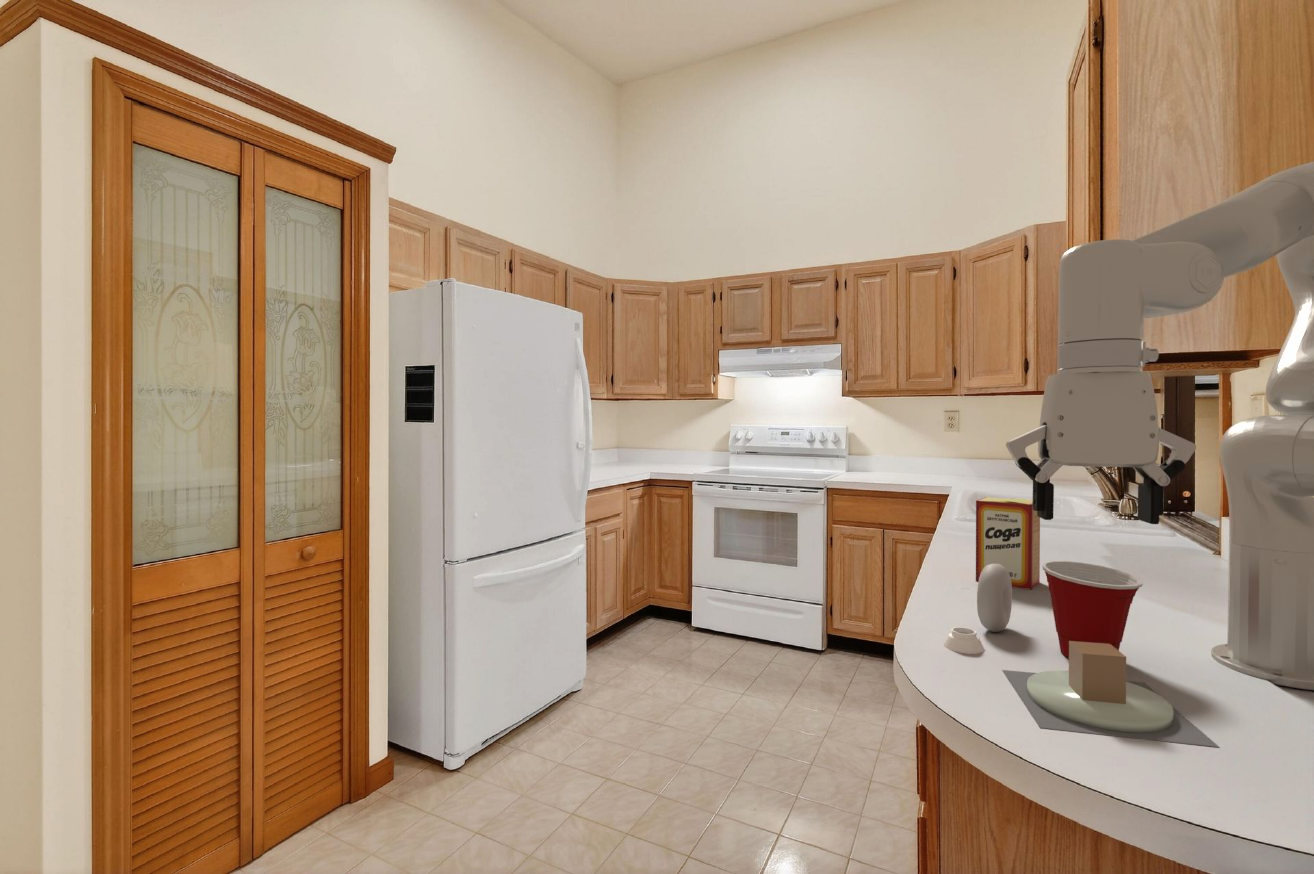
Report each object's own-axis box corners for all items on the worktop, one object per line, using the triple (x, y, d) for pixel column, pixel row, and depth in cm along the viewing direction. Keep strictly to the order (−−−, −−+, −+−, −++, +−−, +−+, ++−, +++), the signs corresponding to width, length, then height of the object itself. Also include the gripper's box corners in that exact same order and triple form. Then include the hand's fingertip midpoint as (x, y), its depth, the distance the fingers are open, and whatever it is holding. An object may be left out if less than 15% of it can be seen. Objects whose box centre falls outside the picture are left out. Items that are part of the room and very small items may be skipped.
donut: (989, 619, 99) (989, 556, 99) (1014, 624, 97) (1014, 559, 96) (973, 637, 91) (973, 568, 91) (1000, 642, 89) (1000, 572, 89)
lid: (1138, 685, 73) (1138, 633, 73) (1201, 740, 61) (1201, 678, 61) (1013, 674, 77) (1013, 625, 77) (1048, 723, 64) (1048, 665, 64)
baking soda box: (975, 581, 122) (976, 498, 122) (985, 574, 127) (985, 495, 126) (1031, 589, 116) (1032, 502, 115) (1039, 582, 121) (1040, 499, 120)
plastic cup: (1132, 686, 74) (1133, 585, 74) (1030, 661, 82) (1030, 569, 82) (1150, 661, 82) (1151, 569, 81) (1054, 640, 90) (1055, 556, 89)
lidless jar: (969, 644, 89) (936, 646, 88) (970, 624, 89) (936, 625, 88) (992, 658, 84) (957, 659, 83) (992, 636, 84) (957, 637, 83)
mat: (1144, 687, 74) (1144, 682, 74) (1219, 753, 59) (1219, 747, 59) (1002, 674, 78) (1002, 669, 78) (1040, 733, 64) (1040, 727, 64)
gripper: (1176, 362, 69) (1172, 518, 69) (1000, 365, 74) (997, 512, 74) (1216, 355, 62) (1211, 530, 62) (1018, 359, 66) (1015, 521, 67)
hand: (1095, 520), depth 68 cm, fingers open, 9 cm apart
